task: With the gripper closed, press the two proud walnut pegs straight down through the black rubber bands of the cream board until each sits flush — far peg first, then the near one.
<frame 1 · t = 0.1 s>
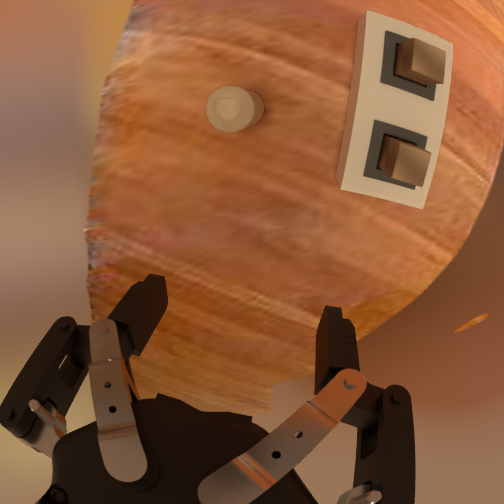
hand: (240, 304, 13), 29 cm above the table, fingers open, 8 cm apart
peg b: (417, 63, 20), point 8 cm above the table, slide at 5.0 cm
socket board: (389, 107, 30), on the table
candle: (245, 107, 34), on the table
peg a: (402, 158, 26), point 8 cm above the table, slide at 5.0 cm
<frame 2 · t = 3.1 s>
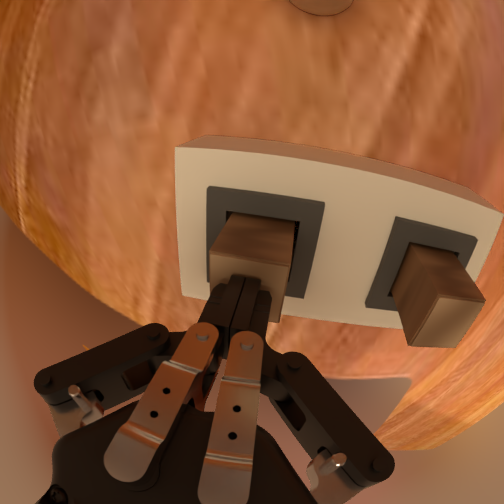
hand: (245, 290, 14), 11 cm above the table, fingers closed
peg b: (432, 290, 15), point 8 cm above the table, slide at 5.0 cm
socket board: (339, 221, 23), on the table
peg a: (256, 257, 17), point 8 cm above the table, slide at 4.3 cm, touching gripper
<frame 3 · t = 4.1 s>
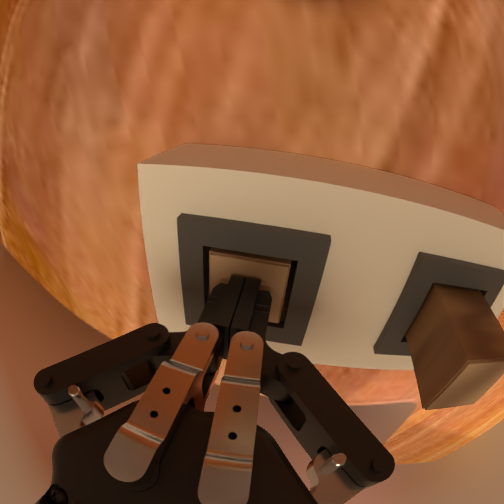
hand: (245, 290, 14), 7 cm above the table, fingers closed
peg b: (455, 339, 11), point 8 cm above the table, slide at 5.0 cm
socket board: (345, 246, 19), on the table
peg a: (256, 257, 17), point 3 cm above the table, slide at -0.1 cm, touching gripper
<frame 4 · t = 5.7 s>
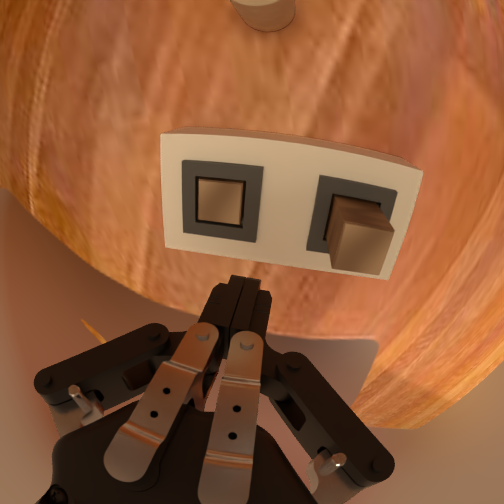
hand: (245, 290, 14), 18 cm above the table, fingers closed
peg b: (355, 230, 22), point 8 cm above the table, slide at 5.0 cm
socket board: (288, 188, 29), on the table
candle: (268, 11, 20), on the table
peg a: (227, 191, 27), point 3 cm above the table, slide at -0.1 cm
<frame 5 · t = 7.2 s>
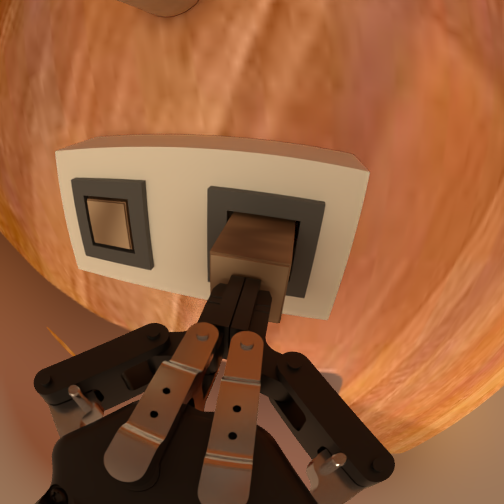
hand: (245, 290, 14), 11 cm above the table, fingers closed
peg b: (256, 257, 17), point 8 cm above the table, slide at 4.4 cm, touching gripper
socket board: (204, 201, 24), on the table
peg a: (129, 208, 22), point 3 cm above the table, slide at -0.1 cm
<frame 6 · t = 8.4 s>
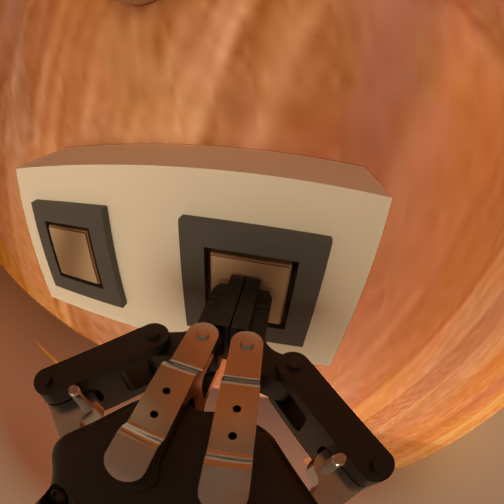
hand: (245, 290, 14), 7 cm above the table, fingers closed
peg b: (257, 258, 17), point 3 cm above the table, slide at -0.1 cm, touching gripper
socket board: (186, 223, 20), on the table
peg a: (99, 232, 18), point 3 cm above the table, slide at -0.1 cm
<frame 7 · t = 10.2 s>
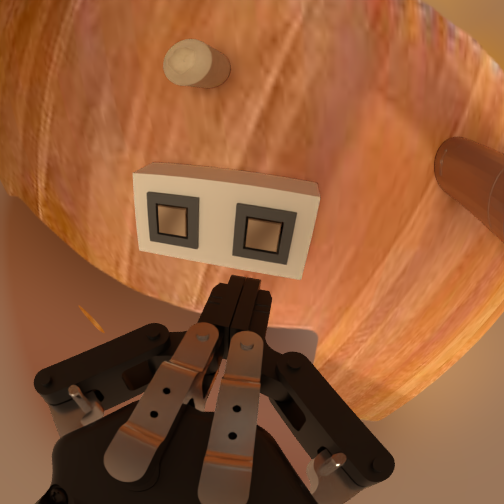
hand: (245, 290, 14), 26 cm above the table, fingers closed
peg b: (265, 224, 37), point 3 cm above the table, slide at -0.1 cm
socket board: (227, 208, 40), on the table
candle: (211, 69, 30), on the table
peg a: (180, 211, 38), point 3 cm above the table, slide at -0.1 cm
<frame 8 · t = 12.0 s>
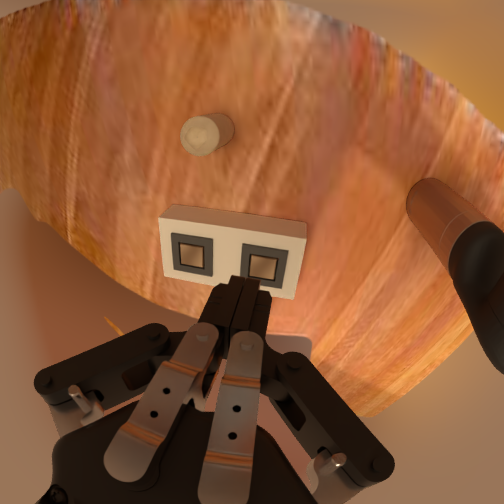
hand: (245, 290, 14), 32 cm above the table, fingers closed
peg b: (265, 257, 47), point 3 cm above the table, slide at -0.1 cm
socket board: (235, 242, 50), on the table
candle: (218, 129, 40), on the table
peg a: (197, 246, 48), point 3 cm above the table, slide at -0.1 cm
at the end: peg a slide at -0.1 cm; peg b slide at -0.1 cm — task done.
